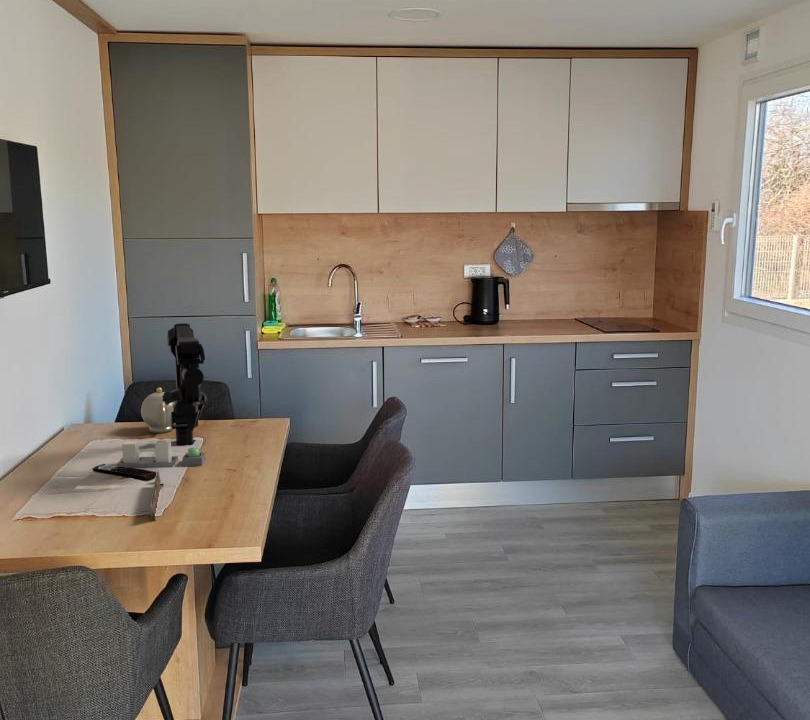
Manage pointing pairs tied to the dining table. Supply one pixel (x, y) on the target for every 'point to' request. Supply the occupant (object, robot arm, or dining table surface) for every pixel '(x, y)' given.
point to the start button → (193, 452)
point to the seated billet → (163, 451)
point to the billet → (131, 452)
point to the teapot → (157, 412)
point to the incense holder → (155, 496)
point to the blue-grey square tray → (145, 450)
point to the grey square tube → (194, 460)
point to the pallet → (148, 463)
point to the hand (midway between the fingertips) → (192, 429)
